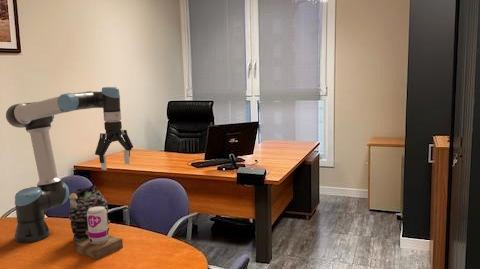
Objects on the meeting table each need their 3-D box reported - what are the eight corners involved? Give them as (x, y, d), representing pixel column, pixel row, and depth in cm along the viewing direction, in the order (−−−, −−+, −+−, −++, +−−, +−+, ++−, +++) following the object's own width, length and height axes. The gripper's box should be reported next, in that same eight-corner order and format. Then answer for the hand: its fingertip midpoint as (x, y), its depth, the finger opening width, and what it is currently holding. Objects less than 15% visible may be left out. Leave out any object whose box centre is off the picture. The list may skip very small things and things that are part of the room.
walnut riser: (76, 252, 185) (75, 243, 185) (102, 241, 197) (101, 233, 196) (97, 259, 178) (96, 250, 177) (122, 247, 190) (122, 238, 189)
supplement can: (102, 245, 182) (100, 212, 180) (85, 244, 184) (82, 211, 182) (112, 238, 190) (109, 206, 188) (95, 237, 192) (93, 205, 189)
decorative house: (89, 247, 190) (84, 194, 187) (63, 243, 196) (58, 191, 192) (117, 231, 210) (114, 182, 206) (93, 227, 215) (89, 180, 211)
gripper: (95, 124, 180) (99, 173, 183) (138, 118, 200) (141, 162, 203) (84, 123, 184) (88, 171, 187) (127, 117, 204) (130, 160, 207)
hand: (116, 166), depth 195 cm, fingers open, 13 cm apart
